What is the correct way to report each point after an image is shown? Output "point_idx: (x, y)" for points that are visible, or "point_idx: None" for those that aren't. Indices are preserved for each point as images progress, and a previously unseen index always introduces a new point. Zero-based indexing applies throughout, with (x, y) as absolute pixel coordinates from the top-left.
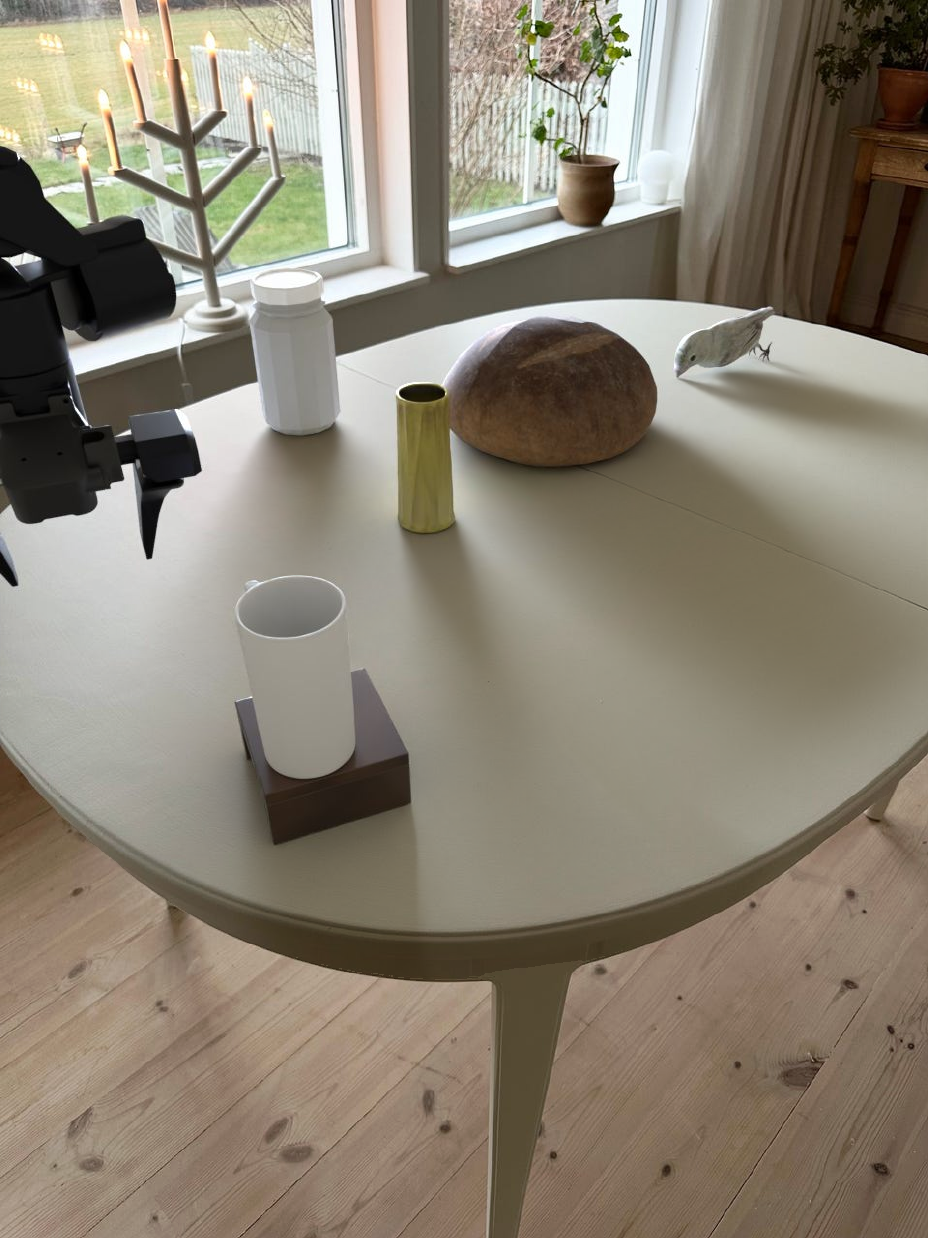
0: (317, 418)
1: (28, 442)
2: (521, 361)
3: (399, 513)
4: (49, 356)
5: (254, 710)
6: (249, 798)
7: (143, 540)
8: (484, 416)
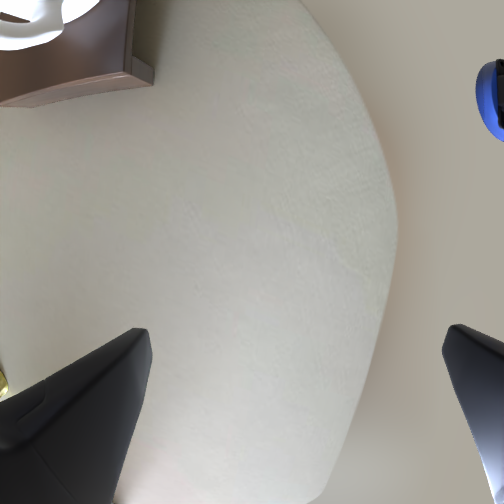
0: None
1: None
2: None
3: (1, 386)
4: None
5: (105, 47)
6: (167, 16)
7: (118, 358)
8: None
